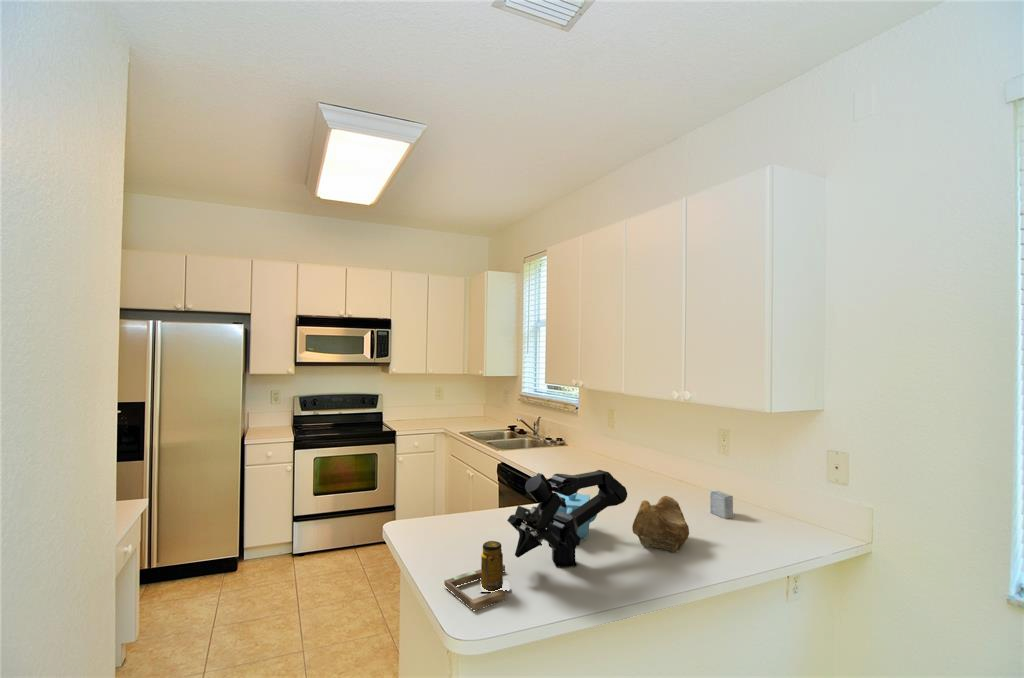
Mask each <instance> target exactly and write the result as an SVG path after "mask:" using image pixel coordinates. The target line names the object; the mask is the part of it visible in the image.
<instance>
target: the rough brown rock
mask: <svg viewBox="0 0 1024 678" xmlns="http://www.w3.org/2000/svg"><path fill="white" fill-rule="evenodd" d="M631 529H632V533H633V534H634V535H636V536H637V537H638V539H639V542H640V544H641V546H642V547H643V548H650V547H653V548H656V549H657V548H658V549H665V550H666V551H668V552H671V553H674V554H675V553H677V552H678V551H680V550H681V549H682V547H683V546H684V544H685V542H686V541H688V538H689V536H690V529H689V525H688V523H687V522H686V519H685V516H684V514H683V511H682V509H681V506H680V504H679V502H678V501H677V500H675V499H674V498H673V497H671V496H668V495H664V496H662V497H661V498H660V499H659V500H658V501H657V503H655V504H651V503H650V502H649V501H648V500H642V501H641V503H640V505H639V508H638V510H637V513H636V516H635V518H634V520H633V523H632V528H631Z"/></svg>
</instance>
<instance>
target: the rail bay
mask: <svg viewBox="0 0 1024 678" xmlns="http://www.w3.org/2000/svg"><path fill="white" fill-rule="evenodd" d="M503 571H505V572H506V565H505V564H504V563H503ZM480 578H481V569H477V570H472V571H471V570H470V571H469V572H465V573H462V574H458V575H455V576H452V577H451V578H448V579H445V580H444V585H445V586H446V587H447V588H448V589H449V590H450V591H452V592H453V593H454V594H455V595H456V596H457V597H458V598H460V599H461V600H462V601H463V602H464V603H465V604H467V605H468V606H469V607H470V608H472V610H471V611H473V610H476V609H479V610H481V609H480V608H482V609H484V608H483V607H485V608H487V607H489V606H488V605H490V606H492V605H491V604H493V605H495V604H494V603H496V604H498V603H500V601H501V602H503V600H504V601H506V592H504V591H503V590H498V591H495V592H492V593H486V594H484V595H481V596H478V597H475V598H472V597H470V596H468V595H467V594H466V593H464V592H463V591H462V590H461V589H460V588H459V587H456V586H457V585H461V584H464V583H468V582H471V581H474V580H477V579H480ZM457 597H456V598H457ZM458 598H457V599H458ZM463 602H462V603H463ZM497 602H498V603H497ZM464 603H463V604H464ZM465 604H464V605H465ZM468 606H467V607H468ZM486 606H487V607H486ZM469 607H468V608H469ZM470 608H469V609H470ZM476 611H477V610H476Z"/></svg>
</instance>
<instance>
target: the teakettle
mask: <svg viewBox="0 0 1024 678" xmlns="http://www.w3.org/2000/svg"><path fill="white" fill-rule="evenodd" d="M557 494H558V495H559V496H560V497H562V498H565V503H566V508H564V507H561V506H560V507H559V509H558V511H557V512H556V514H557V513H558V512H560V511H561V512H564V513H567V514H570V513H571V512H573V511H574V510H576V509H577V508H579V507H580V506H582V505H583V504H585V503H586V502H587V501H589V500H590V499H591V497H590V494H581V493H578V492H577V493H575V494H572V495H570V496H565V495H562V494H559V493H557ZM556 514H555V515H556ZM555 515H554V516H555ZM597 516H598V514H597V515H595V516H594V517H592V518H591V519H590V520H588V521H587V522H585V523H584V524H582V525H581V526H580V527H579V528H578V531H577V535H578V536H579V537H580V538H581V539H580V540H584V539H588V537H589V529H590V525H591V524H590V523H593V522H594V521H595V520H596V518H597ZM584 541H585V540H584Z"/></svg>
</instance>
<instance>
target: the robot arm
mask: <svg viewBox="0 0 1024 678" xmlns="http://www.w3.org/2000/svg"><path fill="white" fill-rule="evenodd" d="M595 486H596V487H597V489H598V492H597V494H596V495H595V496H594V497H592V498H590V500H589V501H587V502H586V503H585V504H583V505H582V506H580V507H579V508H577V509H576V510H574V511H573V512H571V513H570V514H567V513H564V512H561V511H560V512H558V513H557V514H556V512H557V511H558V509H559V507H560V506H561V507H564V508H566V503H565V498H562V497H560V496H559V495H558V493H559V494H562V495H565V496H570V495H572V494H575V493H577V494H578V491H579V490H582V489H586V488H590V487H595ZM524 488H525V490H526V492H527V493H528V494H529V495H530V496H531V497H532V498H533V499H534V500H535V502H537V503H538V504H537V506H532V507H531V509H529V508H526V507H524V506H520V505H517V508H516V510H515V513H514V514H510V516H508V519H507V522H508V523H509V524H510V525H511V526H512V527H513V528H514V529H515V530H516V531H517V532H518V534H519V535H518V536H519V537H518V541H517V545H516V547H515V548H516V550H515V551H514V552H515V553H514V556H515V557H516V558H520V557H521V556H523V555H525V554H526V553H527V554H528V552H530V551H532V550H533V549H535V548H538V547H541V546H543V543H542V542H543V541H546V542H547V543H548V548H551V560H552V562H553V564H554V565H555V567H556V568H564V567H565V568H570V567H577V566H578V564H577V562H576V548H577V547H578V546H580V544H581V543H580V542H581V541H580V539H581V538H580V537H579V536H578V535H577V531H578V528H579V527H580V526H581V525H582V524H584V523H585V522H587V521H588V520H590V519H591V518H592V517H594V516H595V515H597V516H598V514H599V513H601V512H602V511H604V510H605V509H607V508H608V507H614V506H618V505H621V504H623V503H625V501H626V500H627V498H628V491H627V487H625V486H624V485H623V484H622V483H621V482H620V481H618V480H617V479H616V478H615V477H614V476H613V475H612V474H611V472H609V471H605V470H602V469H597V470H595V471H588V472H583V473H577V474H567V473H554V474H553V475H552V477H549V478H546V477H545V475H544V474H543V473H540V472H538V473H537V474H536V475H534V476H532V477H530V478H529V479H527V480H526V482H525V485H524ZM555 514H556V515H555ZM554 515H555V516H554Z"/></svg>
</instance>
